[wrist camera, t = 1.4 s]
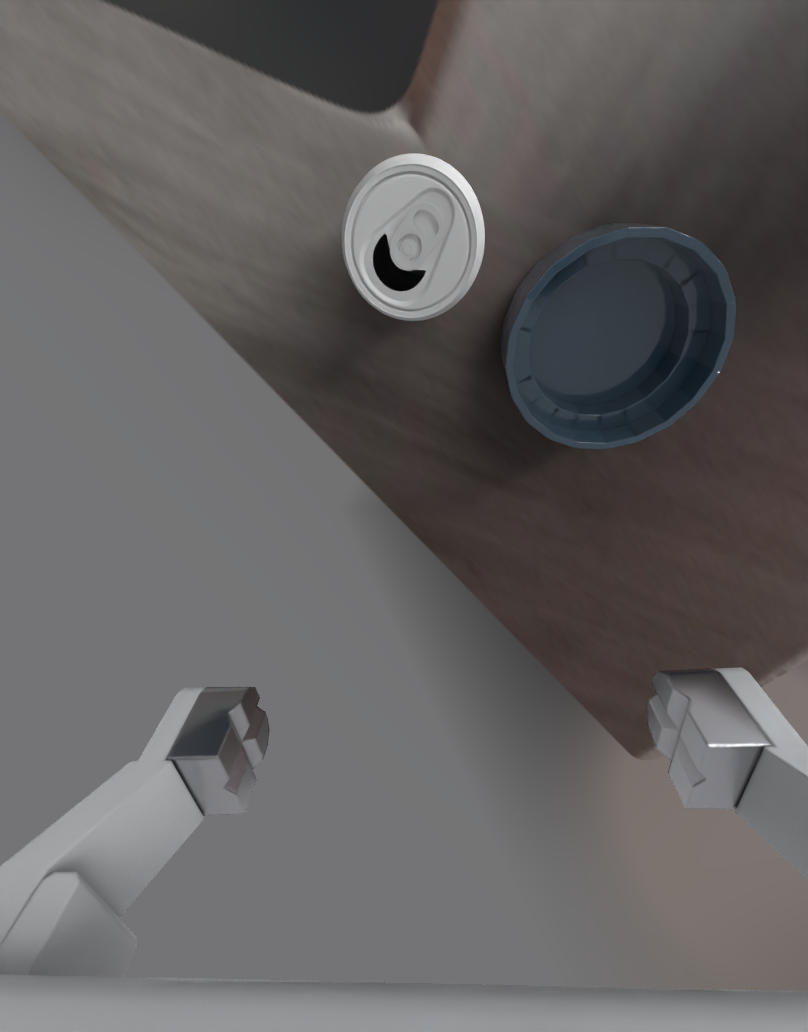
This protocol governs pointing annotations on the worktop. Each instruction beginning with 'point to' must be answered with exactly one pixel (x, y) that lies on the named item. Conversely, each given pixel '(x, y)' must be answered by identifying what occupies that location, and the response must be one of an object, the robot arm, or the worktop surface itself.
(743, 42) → the worktop surface
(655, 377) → the bowl
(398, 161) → the beverage can
